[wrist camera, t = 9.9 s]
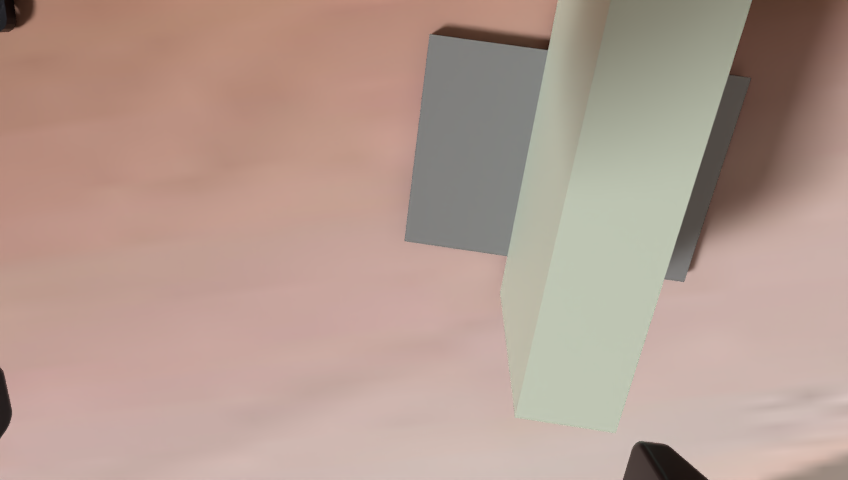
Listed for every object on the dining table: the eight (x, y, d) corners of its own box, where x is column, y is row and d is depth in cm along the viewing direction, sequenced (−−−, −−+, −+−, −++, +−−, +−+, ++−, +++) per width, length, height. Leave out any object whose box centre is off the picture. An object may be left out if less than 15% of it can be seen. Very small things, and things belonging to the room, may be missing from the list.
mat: (406, 236, 20) (404, 241, 20) (430, 34, 18) (429, 34, 17) (679, 276, 20) (684, 282, 20) (743, 76, 17) (751, 77, 17)
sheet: (499, 292, 20) (515, 417, 14) (558, -4, 17) (616, -26, 10) (568, 302, 20) (615, 433, 14) (641, 7, 17) (754, -8, 10)
